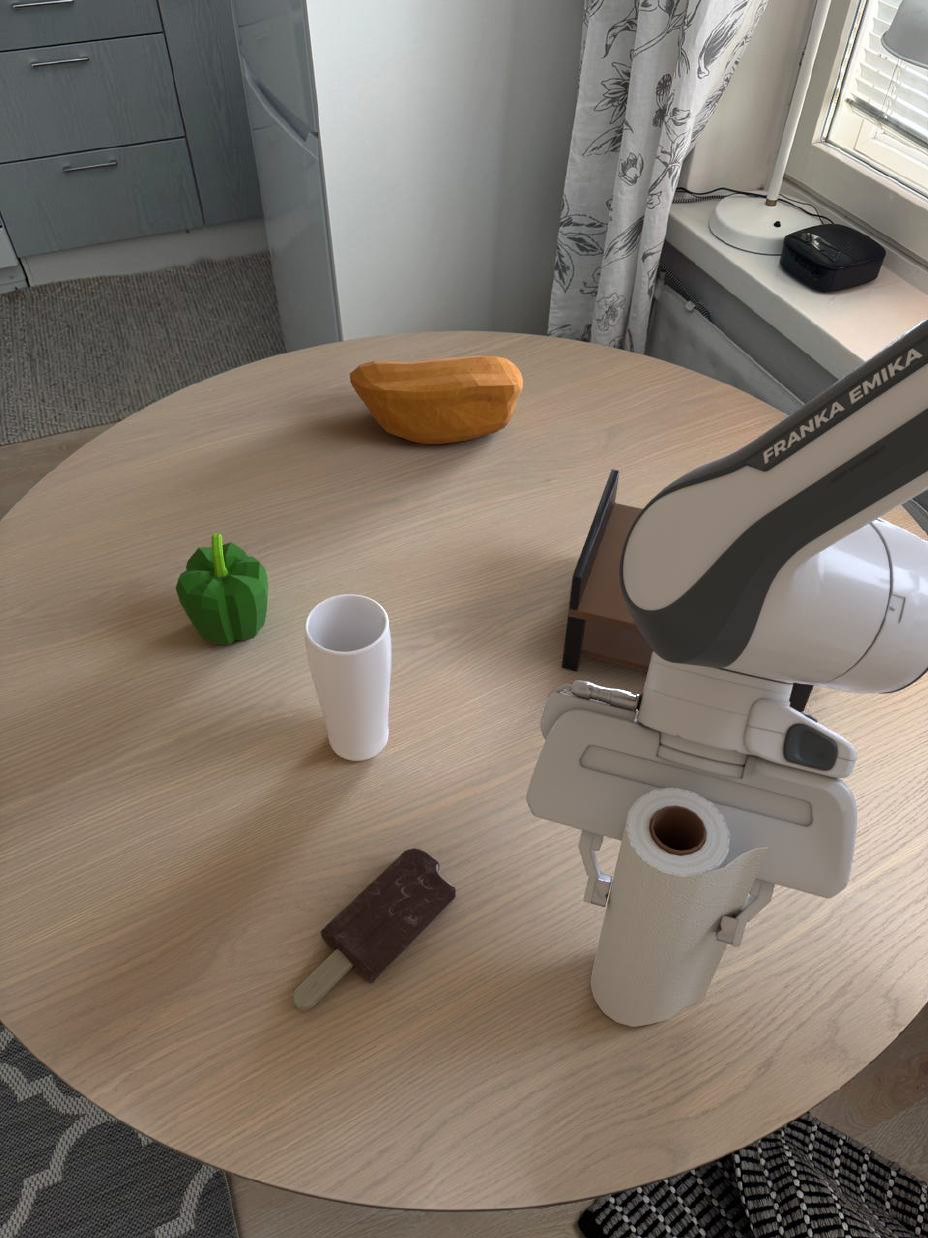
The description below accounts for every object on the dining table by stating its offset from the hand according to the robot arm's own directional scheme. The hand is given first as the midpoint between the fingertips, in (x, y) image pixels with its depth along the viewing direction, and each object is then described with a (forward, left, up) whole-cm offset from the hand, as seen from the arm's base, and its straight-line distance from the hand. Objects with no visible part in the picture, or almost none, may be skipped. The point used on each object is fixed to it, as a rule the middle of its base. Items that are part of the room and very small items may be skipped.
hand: (659, 922), depth 64 cm
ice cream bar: (+20, +1, -12) cm, 23 cm away
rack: (+2, -38, -12) cm, 40 cm away
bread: (+38, -65, -12) cm, 76 cm away
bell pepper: (+45, -25, -12) cm, 53 cm away
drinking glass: (+28, -16, -12) cm, 34 cm away
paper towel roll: (0, -1, -12) cm, 12 cm away
